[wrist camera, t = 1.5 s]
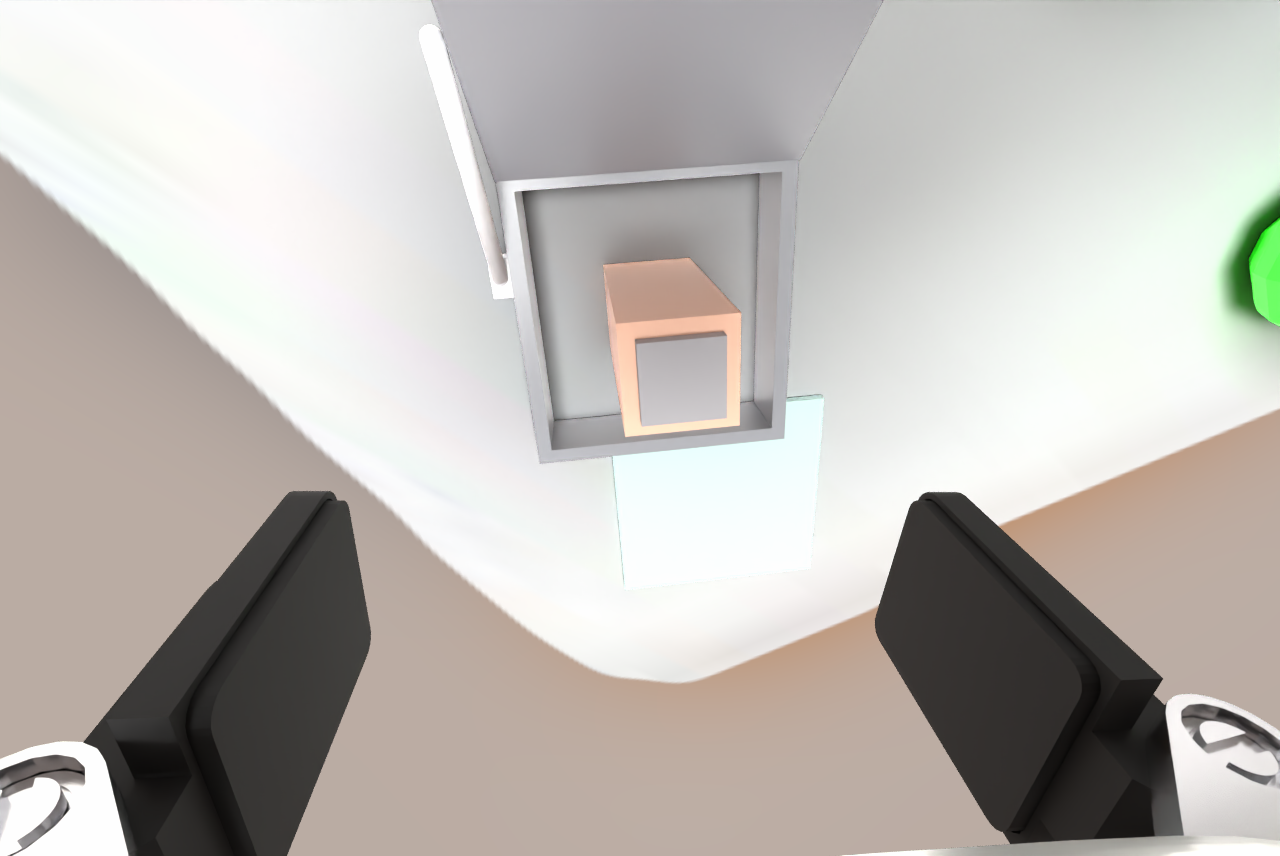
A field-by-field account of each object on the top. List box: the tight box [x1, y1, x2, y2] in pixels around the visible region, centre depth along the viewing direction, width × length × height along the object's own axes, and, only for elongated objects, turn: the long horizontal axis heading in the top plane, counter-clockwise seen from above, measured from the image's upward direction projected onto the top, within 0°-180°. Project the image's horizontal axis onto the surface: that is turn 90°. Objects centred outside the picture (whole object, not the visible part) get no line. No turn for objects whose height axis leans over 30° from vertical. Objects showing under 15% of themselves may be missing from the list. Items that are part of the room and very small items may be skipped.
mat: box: [612, 395, 824, 590], centre depth 41 cm, size 14×14×1 cm
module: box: [603, 258, 741, 437], centre depth 30 cm, size 5×5×13 cm
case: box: [419, 0, 883, 464], centre depth 26 cm, size 16×25×17 cm, turn 4°
